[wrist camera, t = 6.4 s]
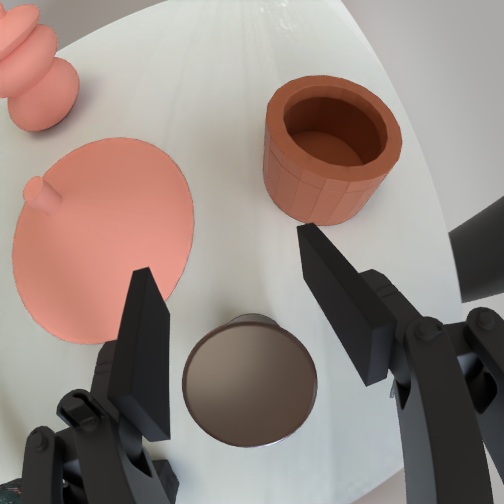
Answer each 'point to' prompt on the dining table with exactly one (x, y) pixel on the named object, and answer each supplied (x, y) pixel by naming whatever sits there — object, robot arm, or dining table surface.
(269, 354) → the pestle
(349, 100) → the jar
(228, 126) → the dining table surface
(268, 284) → the dining table surface
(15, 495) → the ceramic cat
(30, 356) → the dining table surface
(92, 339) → the ceramic vessels
